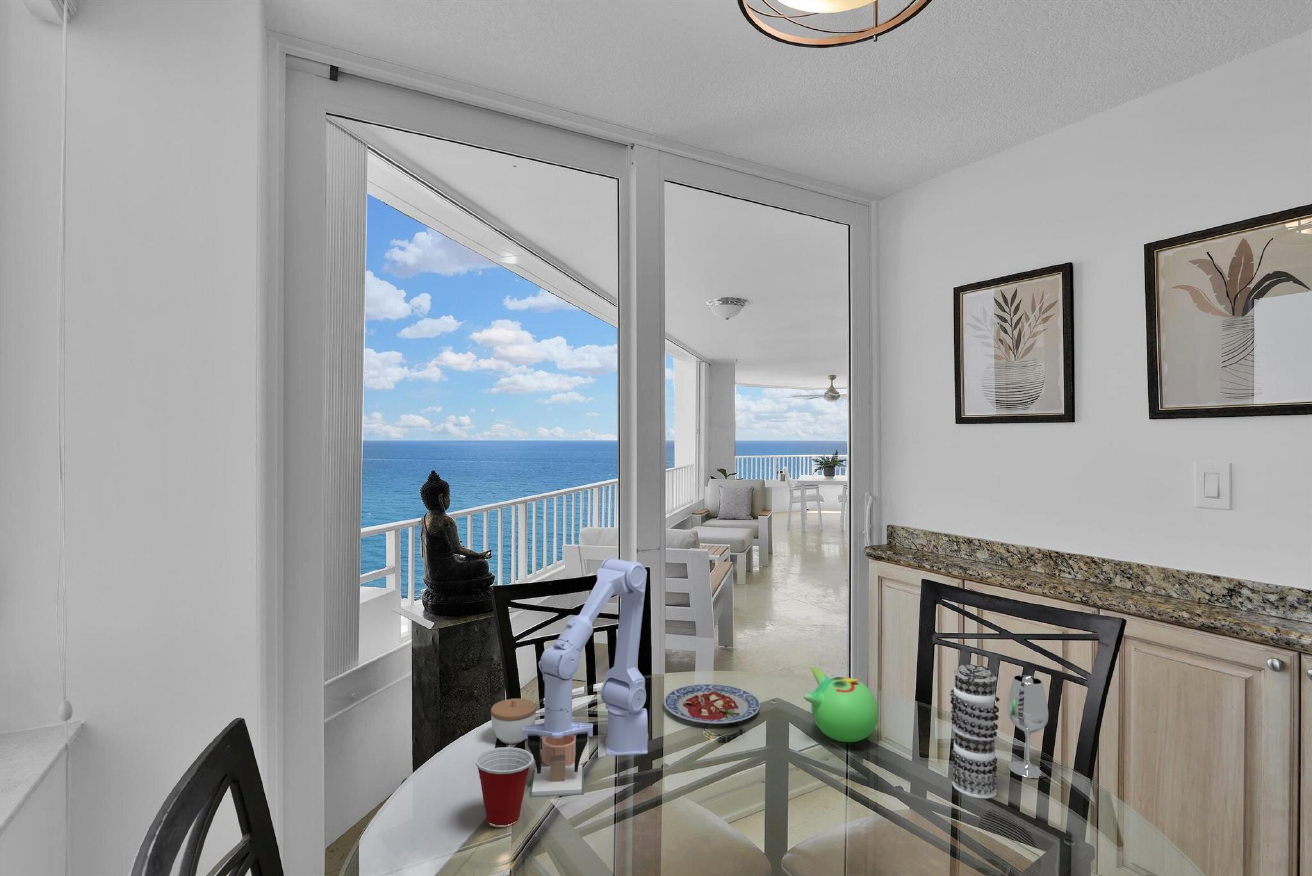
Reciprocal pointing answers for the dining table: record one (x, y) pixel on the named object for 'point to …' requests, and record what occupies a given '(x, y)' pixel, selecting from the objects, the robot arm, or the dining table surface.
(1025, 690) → the wineglass
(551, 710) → the robot arm
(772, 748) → the dining table surface
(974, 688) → the decorative candle
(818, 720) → the toy bird
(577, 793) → the mat
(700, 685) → the ceramic plate
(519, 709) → the lidded jar
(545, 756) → the bowl
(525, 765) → the plastic cup
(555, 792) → the lid
